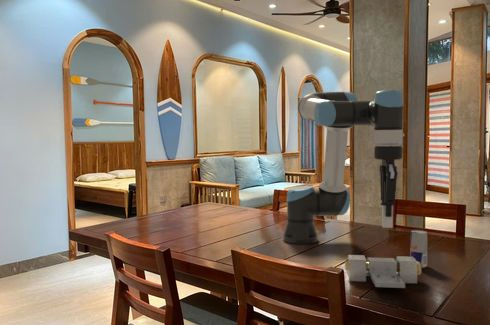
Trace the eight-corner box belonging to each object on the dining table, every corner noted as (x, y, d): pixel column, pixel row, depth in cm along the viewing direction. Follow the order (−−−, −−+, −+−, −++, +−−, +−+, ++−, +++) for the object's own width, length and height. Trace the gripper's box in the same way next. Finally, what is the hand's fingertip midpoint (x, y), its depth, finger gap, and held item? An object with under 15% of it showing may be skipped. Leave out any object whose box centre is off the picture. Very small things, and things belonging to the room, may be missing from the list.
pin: (346, 273, 127) (346, 261, 127) (345, 269, 131) (345, 258, 130) (421, 276, 123) (421, 263, 123) (418, 272, 127) (418, 260, 127)
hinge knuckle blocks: (349, 280, 126) (349, 259, 126) (346, 268, 138) (346, 249, 138) (417, 283, 123) (417, 261, 123) (407, 270, 135) (407, 250, 135)
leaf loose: (375, 286, 114) (375, 270, 114) (367, 272, 130) (367, 257, 130) (405, 288, 113) (405, 271, 113) (393, 273, 129) (393, 258, 129)
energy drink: (407, 263, 142) (407, 230, 142) (421, 263, 143) (422, 229, 142) (414, 268, 137) (415, 233, 136) (430, 268, 137) (430, 233, 137)
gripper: (407, 145, 108) (406, 232, 110) (397, 144, 121) (396, 222, 122) (378, 146, 109) (377, 232, 111) (371, 144, 122) (370, 222, 124)
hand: (387, 227), depth 117 cm, fingers closed
